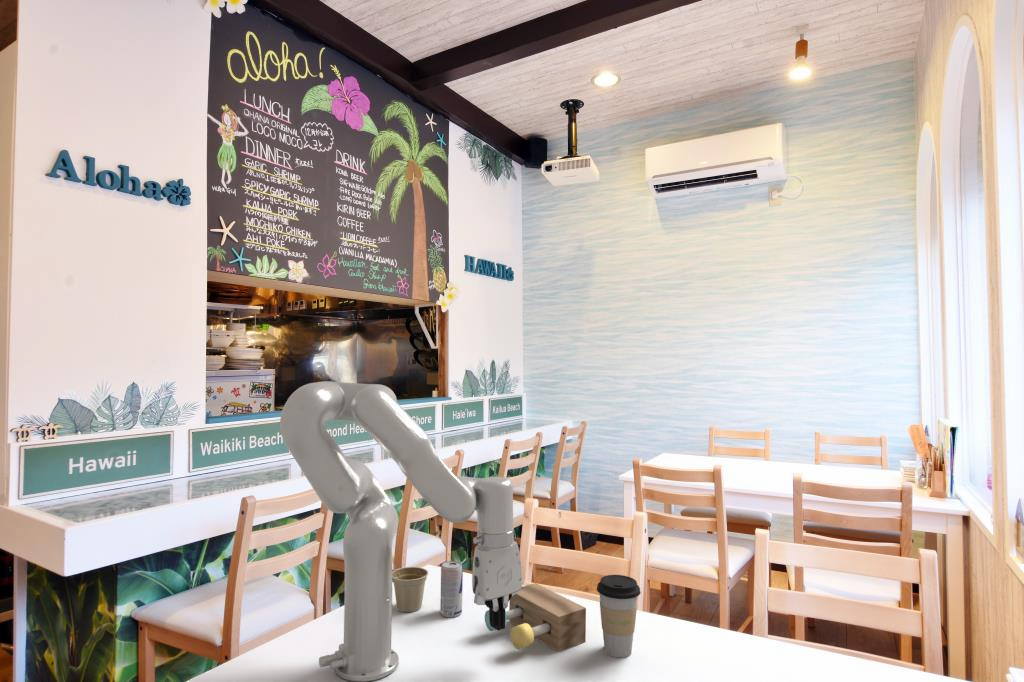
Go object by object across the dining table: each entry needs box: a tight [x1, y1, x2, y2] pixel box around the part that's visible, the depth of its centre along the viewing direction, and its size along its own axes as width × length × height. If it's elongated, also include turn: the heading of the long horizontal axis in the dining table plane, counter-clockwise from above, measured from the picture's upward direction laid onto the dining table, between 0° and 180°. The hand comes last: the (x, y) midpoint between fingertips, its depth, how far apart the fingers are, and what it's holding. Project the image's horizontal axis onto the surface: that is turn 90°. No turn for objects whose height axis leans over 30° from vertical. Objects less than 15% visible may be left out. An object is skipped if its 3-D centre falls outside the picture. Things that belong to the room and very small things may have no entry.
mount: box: [508, 582, 587, 653], centre depth 139 cm, size 8×18×8 cm, turn 37°
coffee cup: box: [596, 574, 642, 658], centre depth 130 cm, size 9×9×15 cm
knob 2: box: [509, 623, 551, 650], centre depth 131 cm, size 11×4×4 cm, turn 127°
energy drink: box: [439, 560, 464, 619], centre depth 148 cm, size 5×5×12 cm
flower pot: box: [392, 566, 429, 613], centre depth 151 cm, size 9×9×9 cm
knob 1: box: [484, 607, 523, 632], centre depth 139 cm, size 11×4×4 cm, turn 127°
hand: (497, 627), depth 124 cm, fingers closed
